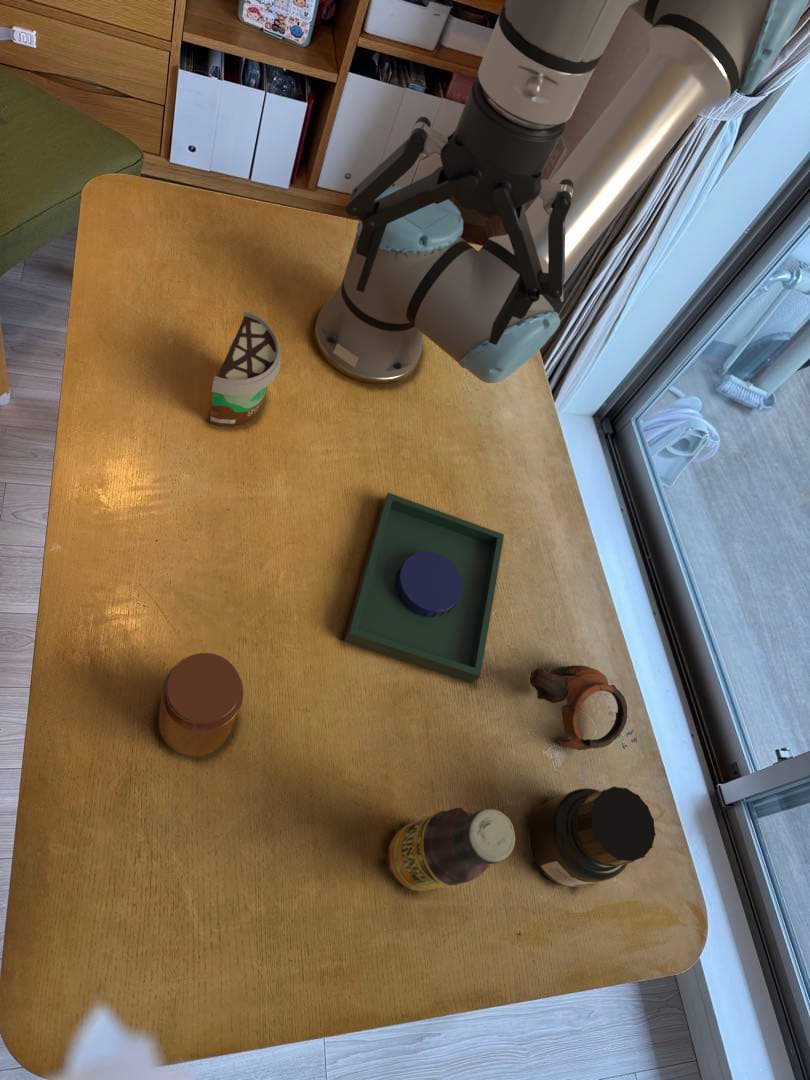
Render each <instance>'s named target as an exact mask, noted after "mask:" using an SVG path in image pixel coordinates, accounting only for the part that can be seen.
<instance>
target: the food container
mask: <svg viewBox="0 0 810 1080" xmlns="http://www.w3.org/2000/svg"><path fill="white" fill-rule="evenodd" d="M281 361H282V359H281V349H280V344H279V341H278V338H277V335H276V334H275V332H274V331H273V329H272V328H271V327H270V325H269V324H268V323H267V322H266V321H265V320H264V319H262V318H261V317H260V316H258V315H257V314H255V313H253V312H251V311H249V310H247V309H244V312H243V318H242V320H241V323H240V326H239V329H238V330H237V332H236V335H235V337H234V339H233V341H232V343H231V345H230V347H229V349H228V352H227V354H226V357H225V359H224V361H223V364H222V366H221V367H220V369H219V372H218V374H217V376H216V375H215V376H214V378H213V381H212V385H211V386H212V387H211V393H212V396H211V407H210V418H209V424H210V425H213V426H217V427H225V428H226V427H227V428H228V427H229V428H233V427H238V426H243V425H246V424H247V423H250V422H251V421H253V420H254V419H255V418H256V416H257V415H258V414H259V412H260V410H261V407H262V405H263V402H264V399H265V396H266V394H267V390H268V387H269V385H271V384H272V383H273V382H274V381H275V379H276V378H277V376H278V374H279V372H280V370H281V369H280V368H281V363H282V362H281Z"/></svg>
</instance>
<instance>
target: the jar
mask: <svg viewBox="0 0 810 1080" xmlns="http://www.w3.org/2000/svg"><path fill="white" fill-rule="evenodd" d="M243 685H244V684H243V681H242V679H241V677H240V674H239V672H238V671H237V669H236V666H234V664H233V663H231V662H230V661H229V660H228V659H226V658H225V657H223V656H221V655H218V654H216V653H211V652H199V653H195V654H192V655H191V654H190V655H189V656H187V657H185V658H183V659H182V660H181V661H179V662H178V663H176V664H175V665H174V666H173V667H172V668H171V669H170V670H169V672H168V673H167V675H166V677H165V679H164V680H163V684H162V688H161V695H160V703H159V713H158V729H159V733H160V735H161V738H162V739H163V741H164V742H165V744H166V745H167V746H168V747H169V748H170V749H171V750H173V751H174V752H176V753H178V754H181V755H183V756H187V757H201V756H205V755H208V754H211V753H213V752H215V751H216V750H218V749H219V748H221V747H222V745H223V744H224V743H226V741H227V740H228V738H229V737H230V734H231V732H232V729H233V727H234V724H235V721H236V719H237V717H238V714H239V712H240V709H241V707H242V705H243V704H242V703H243V700H244V686H243Z"/></svg>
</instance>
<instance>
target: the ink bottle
mask: <svg viewBox="0 0 810 1080" xmlns="http://www.w3.org/2000/svg"><path fill="white" fill-rule="evenodd" d="M528 827H529V828H528V843H529V848H530V852H531V855H532V857H533V860H534V862H535V864H536V866H537V867H538V869H539V870H540V871H541V872H542V874H543V875H544V876H545V877H546V878H547V879H549V880H550V881H552V882H553V883H555V884H557V885H559V886H562V887H563V886H564V887H571V888H572V887H576V888H577V887H581V886H586V885H592V884H596V883H600V882H605V881H608V880H611V879H614V878H615V877H618V875H620V874H621V873H623V872H624V870H625V869H626V868H627V866H628V865H629V864H631V863H632V864H633V863H635V862H637V861H639V860H642V859H643V860H644V859H645V858H646V857H647V855H648V854H649V852H650V851H651V850H652V849H653V848H654V841H655V838H656V829H655V828H656V827H655V819H654V817H653V815H652V813H651V810H650V807H649V806H648V804H646V803H645V802H644V800H643V799H642V798H641V796H640V795H639V794H638V793H637V794H636V793H635V792H633V791H631V790H630V789H629V788H627V787H618V786H612V787H609V788H607V789H603V790H598V789H595V788H589V787H587V788H578V789H575V790H571V791H569V792H566V793H564V794H562V795H560V796H558V797H556V798H552V799H550V800H549V801H546V802H545V803H543V804H542V805H541V806H539V807H538V809H536V811H535V812H534V814H533V815H532V818H531V819H530V822H529V826H528Z"/></svg>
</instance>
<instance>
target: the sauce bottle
mask: <svg viewBox="0 0 810 1080" xmlns="http://www.w3.org/2000/svg"><path fill="white" fill-rule="evenodd" d="M515 843H516V833H515V828H514V825H513V823H512V821H511V819H510V818H509V817H508V816H507V815H505V814H504V813H503V812H502V811H500V810H498V809H495V808H485V809H479V810H476V811H475V812H470V811H469V810H467V809H464V808H463V807H455V808H452V809H447V810H442V811H438V812H436V813H433V814H431V815H428V816H426V817H423V818H421V819H419V820H416V821H413V822H411V823H409V824H407V825H405V826H403V827H402V828H400V829H399V830H398V831H397V832H396V834H394V835H393V836H392V839H391V840H390V844H389V846H388V850H387V860H386V861H387V864H388V867H389V869H390V872H391V874H392V876H393V877H394V879H395V881H396V882H397V883H399V884H401V885H402V886H403V887H404V888H407V889H409V890H413V891H417V892H422V891H423V892H424V891H430V890H435V889H441V888H445V887H452V886H458V885H462V884H463V883H468V882H472V881H473V880H476V879H478V878H479V877H480V876H481V875H483V873H485V872H486V871H487V869H488V868H489V867H490V865H493V864H497V863H500V862H503V861H504V860H506V859H508V857H509V856H510V855H511V854H512V853H513V850H514V848H515Z"/></svg>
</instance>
